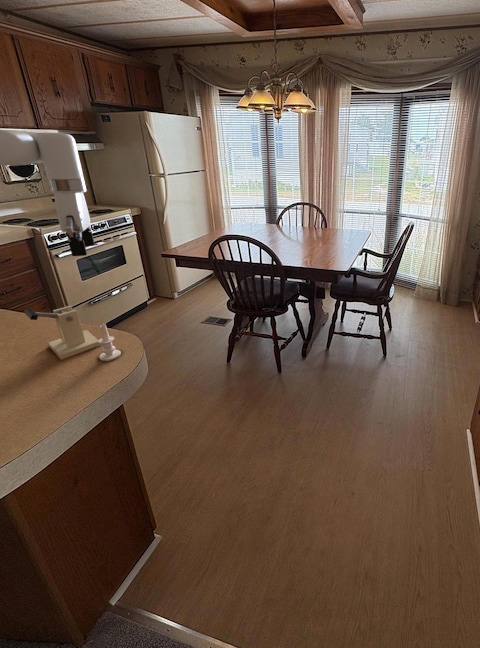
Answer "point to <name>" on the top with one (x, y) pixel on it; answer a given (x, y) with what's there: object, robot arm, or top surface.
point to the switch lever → (41, 314)
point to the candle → (107, 345)
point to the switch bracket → (71, 335)
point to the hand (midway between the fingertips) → (84, 250)
